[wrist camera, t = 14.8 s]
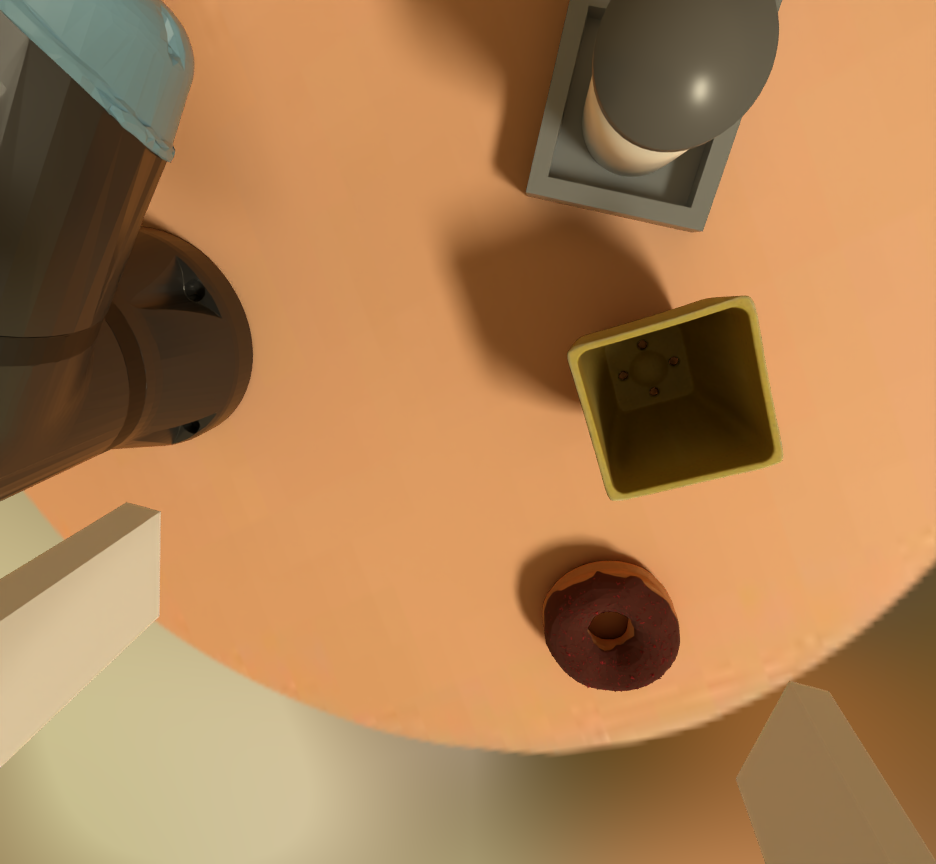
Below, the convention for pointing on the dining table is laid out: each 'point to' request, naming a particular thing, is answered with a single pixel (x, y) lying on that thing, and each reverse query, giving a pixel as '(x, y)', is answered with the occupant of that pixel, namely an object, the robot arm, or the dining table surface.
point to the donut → (623, 658)
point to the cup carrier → (650, 104)
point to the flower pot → (678, 398)
